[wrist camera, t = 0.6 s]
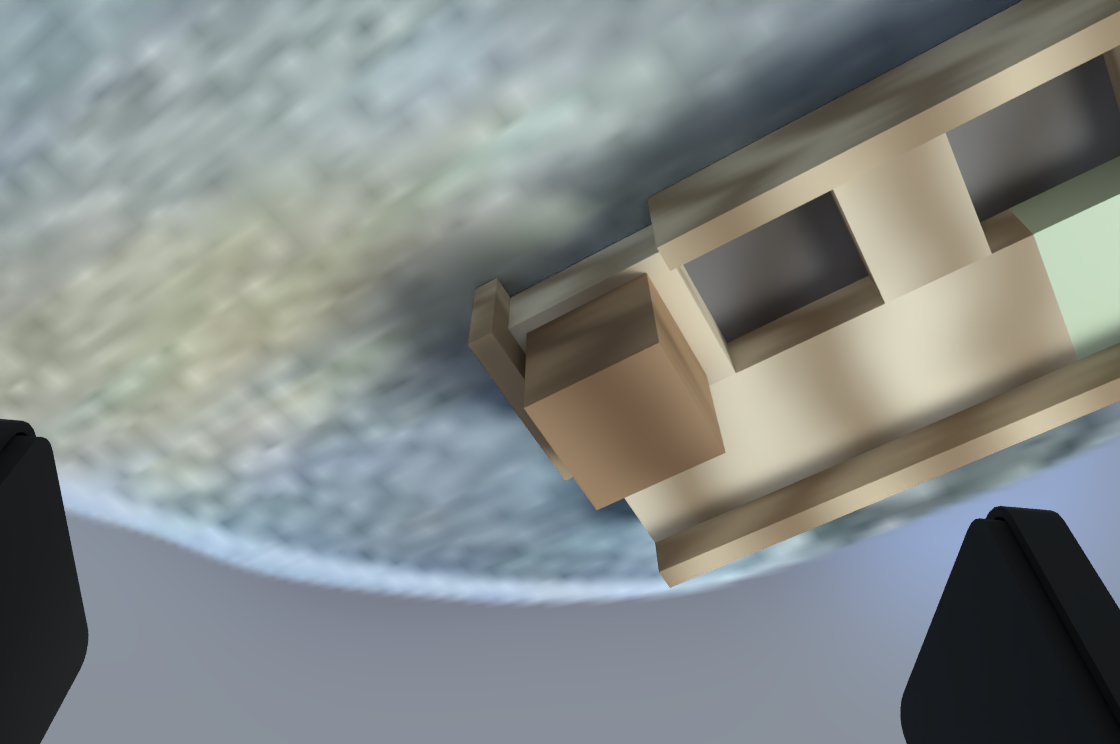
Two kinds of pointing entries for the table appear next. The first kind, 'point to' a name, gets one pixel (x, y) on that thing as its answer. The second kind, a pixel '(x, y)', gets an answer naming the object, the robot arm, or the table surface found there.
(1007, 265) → the tray
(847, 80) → the table surface
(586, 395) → the block
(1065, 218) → the pad
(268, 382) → the table surface
